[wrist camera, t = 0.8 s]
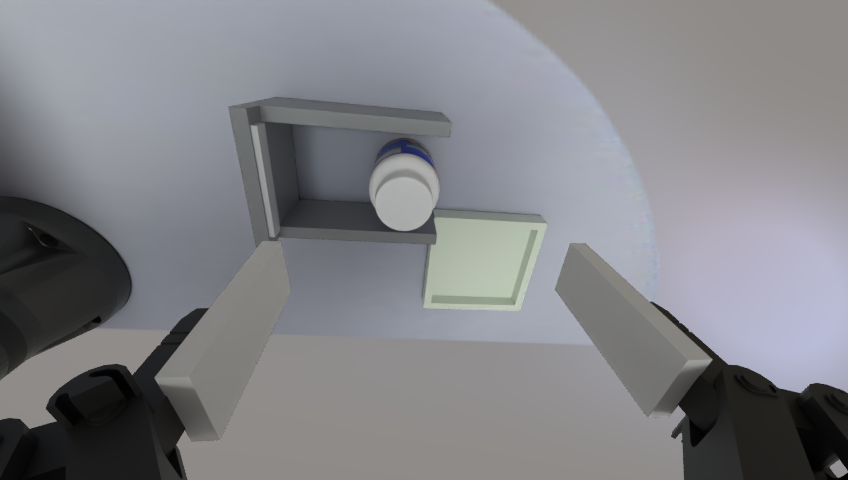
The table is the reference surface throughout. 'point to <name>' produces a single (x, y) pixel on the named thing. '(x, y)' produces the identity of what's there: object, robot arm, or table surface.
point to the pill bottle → (404, 185)
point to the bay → (277, 178)
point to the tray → (481, 259)
